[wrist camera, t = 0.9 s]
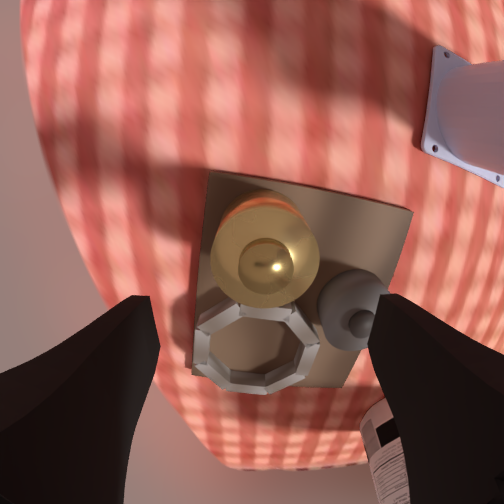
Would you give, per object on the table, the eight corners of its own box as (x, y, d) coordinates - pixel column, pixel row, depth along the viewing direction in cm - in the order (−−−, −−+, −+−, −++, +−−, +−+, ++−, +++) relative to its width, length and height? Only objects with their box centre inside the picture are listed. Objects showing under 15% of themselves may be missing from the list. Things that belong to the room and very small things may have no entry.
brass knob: (312, 197, 17) (336, 225, 12) (294, 274, 19) (307, 323, 14) (225, 182, 16) (214, 205, 12) (215, 262, 18) (203, 310, 13)
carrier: (409, 209, 17) (437, 227, 14) (340, 383, 24) (349, 413, 20) (211, 170, 17) (200, 180, 13) (192, 369, 23) (185, 402, 20)
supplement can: (429, 376, 24) (485, 490, 10) (418, 416, 27) (456, 512, 14) (358, 401, 25) (395, 533, 11) (357, 437, 28) (382, 542, 14)
